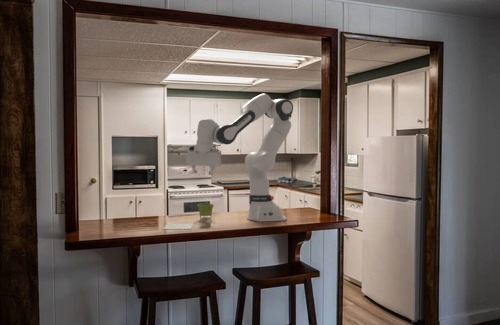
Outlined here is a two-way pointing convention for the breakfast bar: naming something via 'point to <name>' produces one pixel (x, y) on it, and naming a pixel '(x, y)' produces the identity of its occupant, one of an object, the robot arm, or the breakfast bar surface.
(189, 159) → the robot arm
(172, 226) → the sage mat
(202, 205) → the plant pot
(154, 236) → the breakfast bar surface
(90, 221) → the breakfast bar surface
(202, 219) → the birch block
